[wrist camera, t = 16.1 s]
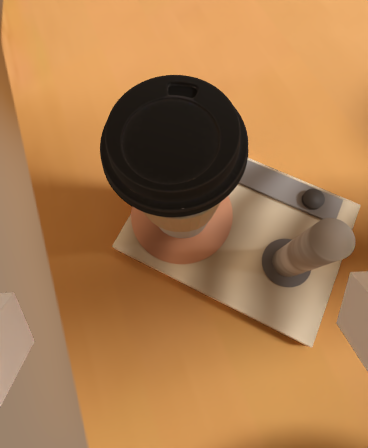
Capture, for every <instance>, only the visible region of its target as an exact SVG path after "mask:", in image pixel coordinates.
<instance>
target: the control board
mask: <svg viewBox="0 0 368 448" xmlns="http://www.w3.org/2000/svg"><path fill="white" fill-rule="evenodd" d="M360 206H361V205H360V204H357V203H355V202H352V201H350V200H348V199H345V198H343V197H340V196H338V195H336V194H333V193H331V192H328V191H326V190H324V189H321V188H319V187H317V186H314V185H312V184H309V183H307V182H305V181H302V180H300V179H297V178H295V177H293V176H290V175H288V174H285V173H283V172H281V171H278V170H276V169H274V168H271V167H269V166H266V165H264V164H262V163H259V162H257V161H254V160H252V159H250V158H248V160H247V165H246V169H245V171H244V174H243V176H242V178H241V180H240V182H239V183H238V185H237V186H236V188H235V189H234V190H233V191H232V192H231V193H230V195H229V196H227V197H226V198H225V199H224V200H223V201H221V203H220V204H219V206H218V208H217V210H216V212H215V213H214V215H213V217H212V218H211V219H210V221H209V222H208V223H207V225H206V226H205V228H204V229H203V230H202V231H201V232H200V233H199V234H198V235H196V236H194V237H190V238H175V237H172V236H169V235H167V234H166V233H164V232H163V231H162V230H161V229H160V228H159V227H158V226H157V225H155V224H154V223H152V221H151V220H150V219H149V218H148V217H147V216H146V215H145V214H144V213H143V212H142V211H140V210H138V209H136V208H134V207H132V210H131V214H130V216H129V218H128V220H127V221H126V223H125V225H124V226H123V228H122V230H121V232H120V233H119V235H118V237H117V238H116V240H115V242H114V244H113V245H112V247H113V248H114V249H115V250H117V251H119V252H121V253H123V254H125V255H127V256H129V257H131V258H133V259H135V260H137V261H139V262H141V263H143V264H145V265H147V266H149V267H151V268H153V269H155V270H157V271H159V272H161V273H163V274H165V275H167V276H169V277H171V278H173V279H175V280H177V281H179V282H181V283H183V284H185V285H187V286H189V287H191V288H193V289H195V290H197V291H199V292H200V293H202V294H204V295H206V296H208V297H210V298H212V299H214V300H216V301H218V302H220V303H222V304H224V305H226V306H228V307H230V308H232V309H234V310H236V311H238V312H240V313H242V314H244V315H246V316H248V317H250V318H252V319H254V320H256V321H258V322H260V323H262V324H264V325H266V326H268V327H270V328H272V329H274V330H276V331H278V332H280V333H282V334H284V335H286V336H287V337H289V338H291V339H293V340H295V341H297V342H299V343H301V344H303V345H305V346H308V347H313V344H314V341H315V338H316V335H317V332H318V329H319V326H320V323H321V320H322V317H323V314H324V311H325V308H326V305H327V303H328V300H329V297H330V294H331V291H332V288H333V285H334V282H335V279H336V276H337V273H338V270H339V267H340V264H341V261H342V259H344V258H346V257H348V256H349V255H350V254H351V253H352V252H353V250H354V248H355V236H354V233H353V231H352V229H353V226H354V223H355V220H356V218H357V215H358V212H359V209H360Z"/></svg>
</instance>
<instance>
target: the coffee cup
mask: <svg viewBox="0 0 368 448" xmlns="http://www.w3.org/2000/svg"><path fill="white" fill-rule="evenodd" d="M100 155H101V161H102V165H103V169H104V173H105V175H106V178H107V180H108V182H109V184H110V185H111V187H112V188H113V190H114V191H115V192H116V193H117V195H118V196H119V197H121V198H122V199H123V200H124V201H125V202H126V203H128V204H129V205H131V206H132V207H134V208H136V209H138V210H140V211H142V212H143V213H144V214H145V215H146V216H147V217H148V218H149V219H150V220H151V221H152V223H154V224H155V225H157V226H158V227H159V228H160V229H161V230H162V231H163V232H164V233H166V234H167V235H169V236H172V237H175V238H190V237H194V236H196V235H198V234H199V233H200V232H201V231H202V230H203V229H204V228H205V226H206V225H207V223H208V222H209V221H210V219H211V218H212V217H213V215H214V213H215V212H216V210H217V208H218V206H219V204H220V203H221V201H223V200H224V199H225V198H226V197H227V196H229V195H230V193H231V192H232V191H233V190H234V189H235V188H236V186H237V185H238V183H239V182H240V180H241V178H242V176H243V174H244V171H245V169H246V165H247V160H248V136H247V131H246V127H245V125H244V122H243V120H242V118H241V116H240V114H239V113H238V111H237V110H236V109H235V107H234V106H233V105H232V103H231V102H230V100H229V99H228V98H227V97H226V96H225V95H224V94H223V93H222V92H221V91H220V90H219V89H217V88H216V87H215V86H213V85H211V84H210V83H208V82H206V81H203V80H201V79H198V78H194V77H190V76H183V75H166V76H160V77H155V78H152V79H149V80H146V81H144V82H141V83H140V84H138V85H136V86H134V87H133V88H131V89H130V90H129V91H127V92H126V93H125V94H124V95H123V96H122V97H121V98H120V99H119V100H118V101H117V103H116V104H115V105H114V107H113V109H112V110H111V112H110V115H109V117H108V120H107V122H106V124H105V126H104V129H103V132H102V136H101V142H100Z"/></svg>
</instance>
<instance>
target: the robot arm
mask: <svg viewBox="0 0 368 448" xmlns="http://www.w3.org/2000/svg"><path fill="white" fill-rule="evenodd" d="M337 325H338V327H339V328H340V330H341V331H342V333H343V334H344V336H345V337H346V339H347V340H348V342H349V344H350V345H351V347H352V348H353V350H354V351H355V353H356V354H357V356H358V357H359V359H360V361H361V362H362V364H363V365H364V367H365V368H366V370H367V371H368V271H361V272H350V275H349V278H348V282H347V286H346V289H345V293H344V297H343V300H342V304H341V308H340V311H339V315H338V319H337ZM34 342H35V340H34V337H33V335H32V333H31V330H30V328H29V326H28V323H27V321H26V319H25V316H24V314H23V312H22V309H21V307H20V305H19V302H18V300H17V298H16V295H15V293H14V292H6V293H0V407H1V405H2V403H3V401H4V399H5V397H6V395H7V393H8V392H9V390H10V388H11V386H12V384H13V382H14V380H15V378H16V376H17V374H18V372H19V371H20V369H21V366H22V365H23V363H24V361H25V359H26V357H27V355H28V353H29V352H30V350H31V348H32V346H33V344H34Z"/></svg>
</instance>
